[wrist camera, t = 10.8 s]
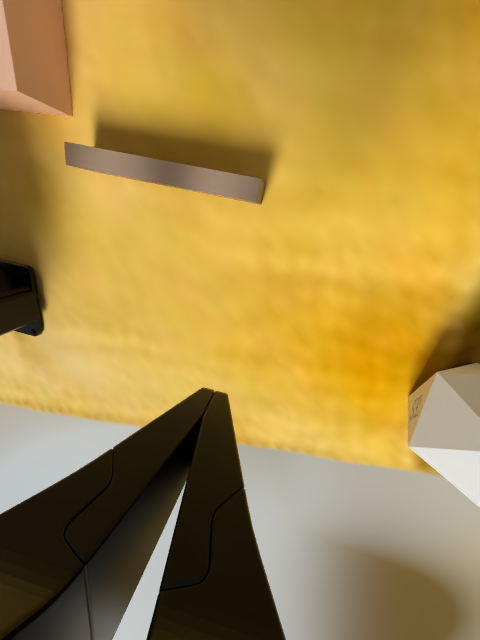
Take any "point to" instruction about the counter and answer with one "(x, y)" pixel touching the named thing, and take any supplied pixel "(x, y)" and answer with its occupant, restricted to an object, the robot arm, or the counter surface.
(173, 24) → the counter surface
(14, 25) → the block
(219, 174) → the corridor rails
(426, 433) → the die
